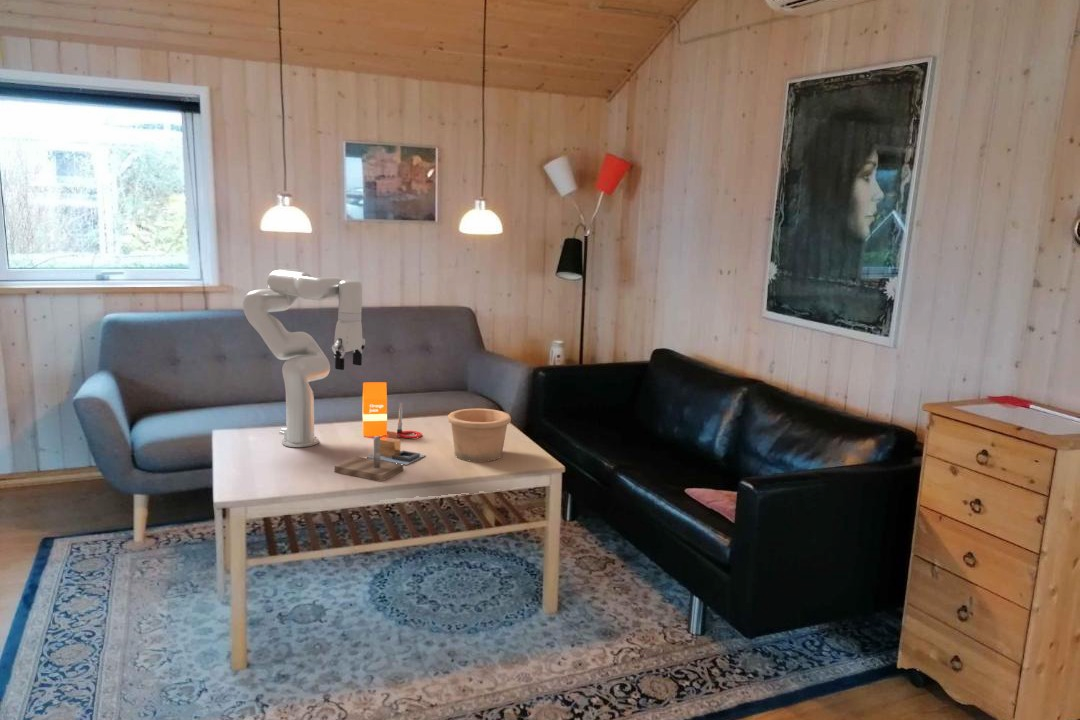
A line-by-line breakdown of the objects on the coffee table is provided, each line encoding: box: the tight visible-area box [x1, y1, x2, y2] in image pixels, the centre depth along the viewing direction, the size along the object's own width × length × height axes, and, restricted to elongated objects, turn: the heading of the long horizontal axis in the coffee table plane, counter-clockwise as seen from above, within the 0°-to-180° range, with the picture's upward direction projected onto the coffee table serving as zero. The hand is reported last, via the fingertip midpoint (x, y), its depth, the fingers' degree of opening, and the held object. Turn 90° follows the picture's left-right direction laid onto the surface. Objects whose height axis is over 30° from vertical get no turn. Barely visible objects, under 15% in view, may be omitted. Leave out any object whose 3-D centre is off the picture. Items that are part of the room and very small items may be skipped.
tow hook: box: [396, 402, 423, 439], centre depth 285 cm, size 8×13×9 cm
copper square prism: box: [380, 436, 421, 462], centre depth 259 cm, size 14×7×6 cm, turn 67°
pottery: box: [447, 407, 512, 462], centre depth 265 cm, size 22×22×14 cm
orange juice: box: [362, 381, 388, 437], centre depth 286 cm, size 8×9×20 cm
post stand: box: [334, 436, 404, 482], centre depth 242 cm, size 18×12×12 cm, turn 67°
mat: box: [366, 450, 426, 466], centre depth 259 cm, size 16×12×1 cm
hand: (348, 367), depth 255 cm, fingers open, 9 cm apart
